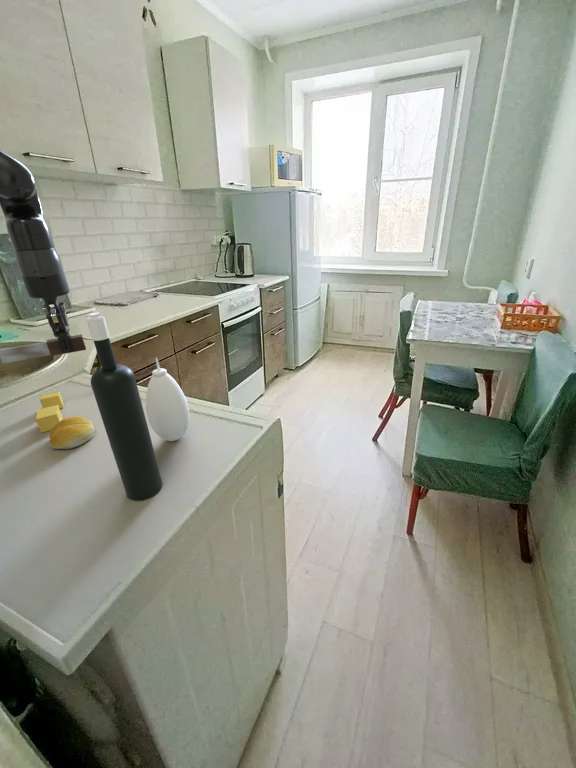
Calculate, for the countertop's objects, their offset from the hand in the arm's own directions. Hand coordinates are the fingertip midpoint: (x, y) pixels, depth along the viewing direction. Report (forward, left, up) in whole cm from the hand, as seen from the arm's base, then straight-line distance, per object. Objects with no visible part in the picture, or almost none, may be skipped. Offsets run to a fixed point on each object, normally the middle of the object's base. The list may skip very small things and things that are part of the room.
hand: (68, 350), depth 81 cm
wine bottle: (-13, -37, -15) cm, 42 cm away
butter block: (-9, -1, -15) cm, 17 cm away
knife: (-3, +2, 0) cm, 4 cm away
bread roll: (-10, -11, -15) cm, 21 cm away
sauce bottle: (0, -30, -15) cm, 34 cm away
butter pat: (-4, +7, -15) cm, 17 cm away
